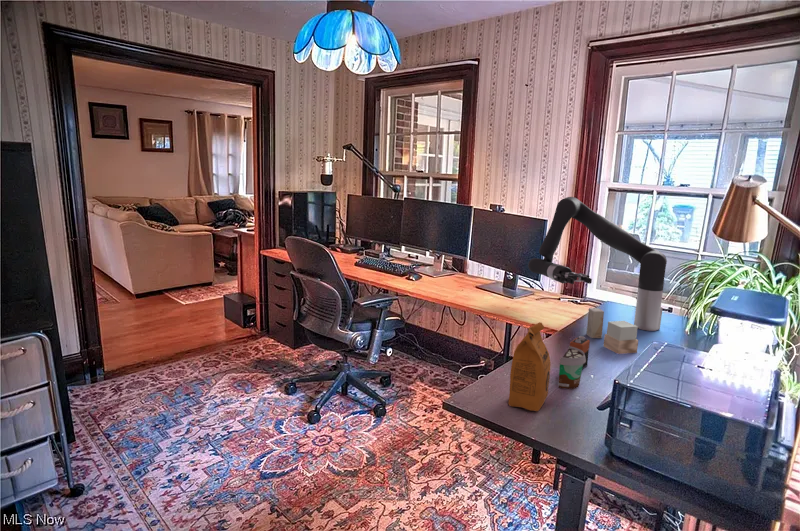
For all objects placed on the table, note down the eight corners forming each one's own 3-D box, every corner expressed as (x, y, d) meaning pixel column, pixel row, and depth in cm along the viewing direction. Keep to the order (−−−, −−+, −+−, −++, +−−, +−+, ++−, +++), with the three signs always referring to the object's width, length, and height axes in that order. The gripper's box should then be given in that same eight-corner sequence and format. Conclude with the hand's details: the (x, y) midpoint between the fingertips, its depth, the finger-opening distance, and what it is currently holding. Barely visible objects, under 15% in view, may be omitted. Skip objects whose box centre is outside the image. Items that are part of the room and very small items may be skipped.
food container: (578, 395, 130) (582, 362, 129) (556, 389, 133) (559, 357, 132) (586, 380, 141) (589, 349, 139) (566, 375, 144) (569, 345, 142)
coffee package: (553, 399, 127) (560, 324, 123) (538, 417, 117) (545, 335, 113) (519, 389, 133) (524, 317, 129) (502, 405, 123) (507, 327, 119)
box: (601, 338, 180) (604, 311, 178) (590, 338, 180) (593, 311, 178) (596, 334, 185) (599, 308, 183) (585, 333, 185) (588, 307, 183)
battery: (587, 365, 152) (590, 337, 150) (580, 371, 147) (583, 342, 145) (574, 362, 155) (577, 334, 153) (567, 368, 150) (569, 339, 148)
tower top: (622, 333, 172) (624, 320, 171) (636, 339, 165) (637, 326, 164) (606, 334, 170) (608, 321, 169) (619, 340, 163) (621, 327, 162)
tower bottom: (621, 345, 173) (623, 333, 172) (636, 353, 165) (638, 340, 165) (603, 346, 171) (604, 334, 170) (617, 354, 164) (619, 341, 163)
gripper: (546, 265, 202) (568, 272, 187) (573, 264, 206) (597, 272, 190) (544, 281, 203) (566, 290, 188) (572, 281, 207) (595, 289, 192)
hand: (582, 281), depth 189 cm, fingers open, 8 cm apart
